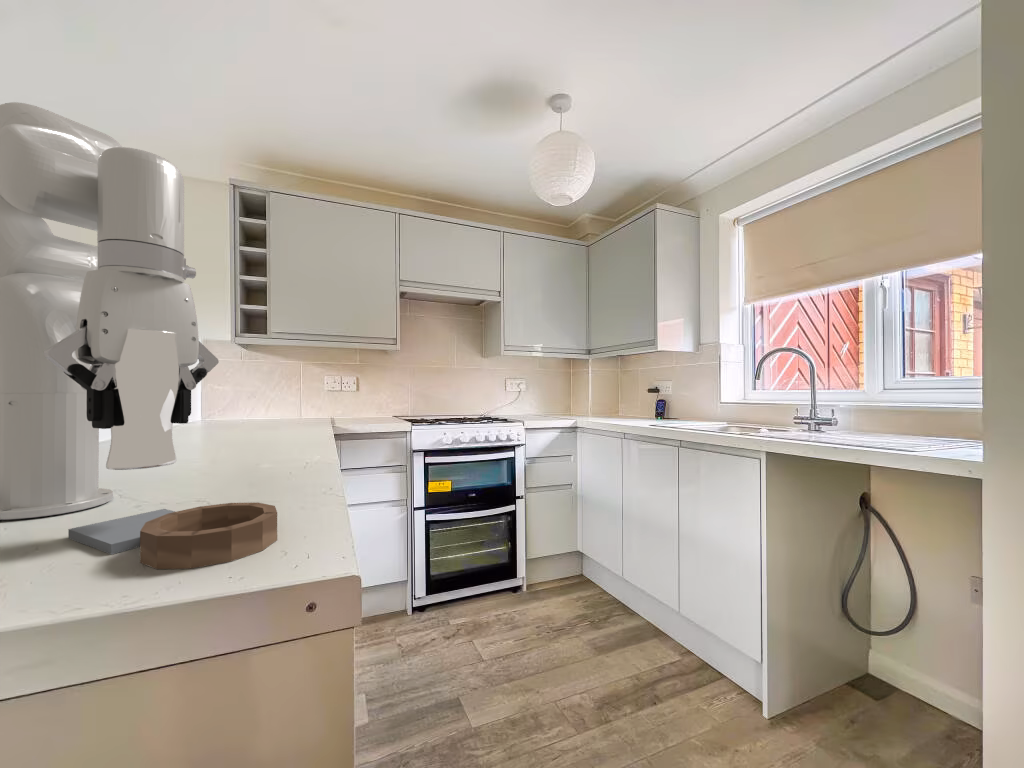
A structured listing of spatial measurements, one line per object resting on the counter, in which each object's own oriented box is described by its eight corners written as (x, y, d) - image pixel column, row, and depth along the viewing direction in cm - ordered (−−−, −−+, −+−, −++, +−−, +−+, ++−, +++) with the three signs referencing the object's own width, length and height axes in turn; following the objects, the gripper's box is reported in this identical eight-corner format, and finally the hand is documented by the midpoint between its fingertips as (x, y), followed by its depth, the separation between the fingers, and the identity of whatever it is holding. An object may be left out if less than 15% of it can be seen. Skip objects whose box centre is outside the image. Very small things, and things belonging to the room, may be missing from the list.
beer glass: (135, 472, 45) (135, 327, 46) (82, 469, 47) (83, 329, 47) (196, 461, 52) (196, 335, 52) (148, 459, 54) (148, 336, 54)
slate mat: (68, 538, 48) (68, 529, 48) (164, 516, 56) (164, 508, 56) (111, 554, 43) (111, 544, 43) (209, 528, 51) (209, 519, 51)
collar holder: (118, 554, 43) (119, 524, 43) (236, 522, 53) (236, 498, 53) (181, 578, 38) (181, 543, 38) (299, 538, 48) (299, 510, 48)
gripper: (206, 286, 59) (206, 419, 59) (19, 251, 44) (18, 431, 44) (240, 279, 56) (240, 421, 56) (49, 238, 40) (49, 434, 40)
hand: (142, 424), depth 50 cm, fingers closed on beer glass, 6 cm apart
